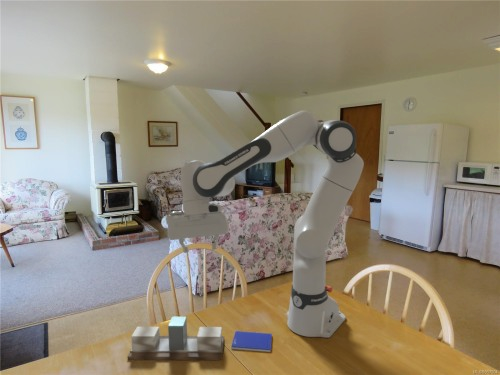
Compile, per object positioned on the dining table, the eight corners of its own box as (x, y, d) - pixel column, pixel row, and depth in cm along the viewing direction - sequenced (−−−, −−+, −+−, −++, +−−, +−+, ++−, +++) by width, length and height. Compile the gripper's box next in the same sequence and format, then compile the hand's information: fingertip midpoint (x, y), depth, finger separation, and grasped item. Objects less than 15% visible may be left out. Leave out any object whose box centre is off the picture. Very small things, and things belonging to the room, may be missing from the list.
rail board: (224, 338, 104) (223, 322, 103) (221, 359, 94) (220, 341, 93) (139, 338, 104) (138, 322, 103) (127, 359, 94) (126, 341, 93)
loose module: (187, 339, 101) (186, 316, 100) (183, 349, 96) (183, 325, 95) (173, 339, 101) (172, 316, 100) (169, 349, 96) (168, 325, 95)
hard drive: (231, 345, 99) (270, 349, 97) (235, 330, 107) (271, 332, 105) (231, 350, 99) (270, 353, 98) (235, 334, 107) (271, 337, 106)
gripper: (163, 212, 102) (166, 255, 101) (226, 205, 102) (230, 248, 101) (167, 212, 108) (171, 253, 107) (226, 206, 109) (231, 246, 108)
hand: (200, 250), depth 104 cm, fingers open, 8 cm apart
